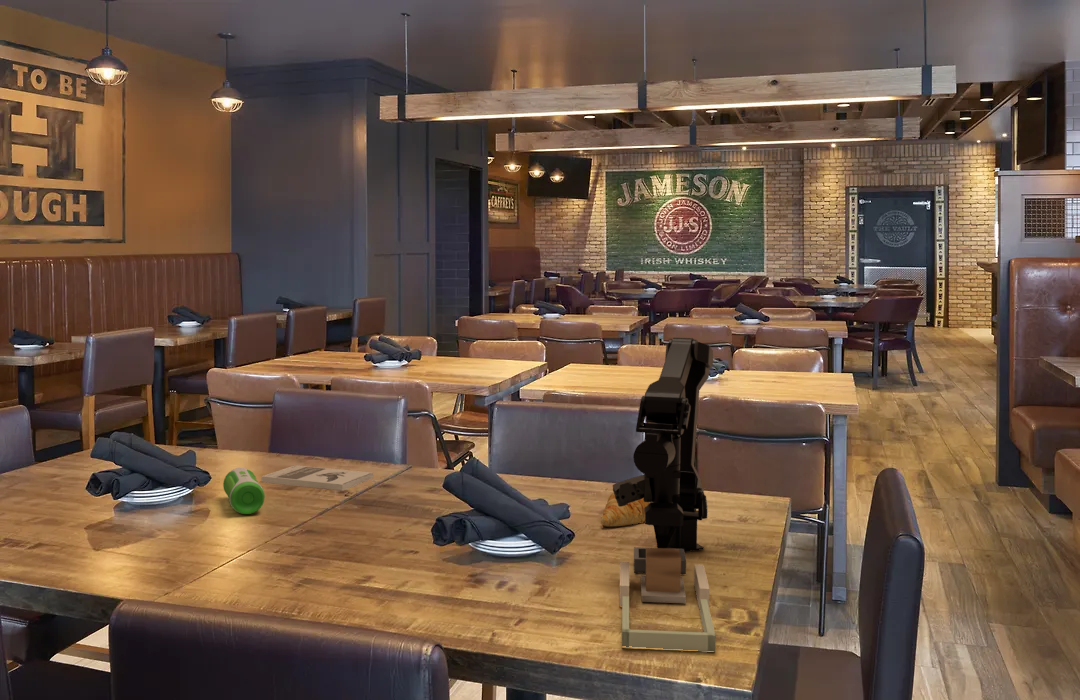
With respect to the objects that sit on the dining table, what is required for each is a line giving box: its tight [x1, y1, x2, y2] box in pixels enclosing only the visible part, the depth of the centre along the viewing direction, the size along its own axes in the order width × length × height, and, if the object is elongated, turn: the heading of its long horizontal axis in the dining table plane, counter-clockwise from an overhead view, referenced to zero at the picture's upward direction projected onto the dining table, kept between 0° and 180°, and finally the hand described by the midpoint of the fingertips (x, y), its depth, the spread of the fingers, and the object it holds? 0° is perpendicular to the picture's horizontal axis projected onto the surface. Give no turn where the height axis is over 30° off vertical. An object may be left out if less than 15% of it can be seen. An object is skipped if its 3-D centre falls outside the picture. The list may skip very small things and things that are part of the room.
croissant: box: [600, 492, 649, 527], centre depth 206 cm, size 21×10×8 cm, turn 147°
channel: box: [619, 561, 710, 610], centre depth 159 cm, size 12×14×4 cm
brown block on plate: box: [640, 547, 687, 604], centre depth 160 cm, size 10×7×6 cm
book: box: [260, 464, 374, 492], centre depth 239 cm, size 23×14×2 cm, turn 69°
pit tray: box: [633, 546, 687, 575], centre depth 173 cm, size 7×9×2 cm
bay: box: [621, 595, 716, 652], centre depth 144 cm, size 14×13×2 cm
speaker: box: [222, 467, 266, 515], centre depth 213 cm, size 18×7×8 cm, turn 23°
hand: (661, 552), depth 167 cm, fingers closed
